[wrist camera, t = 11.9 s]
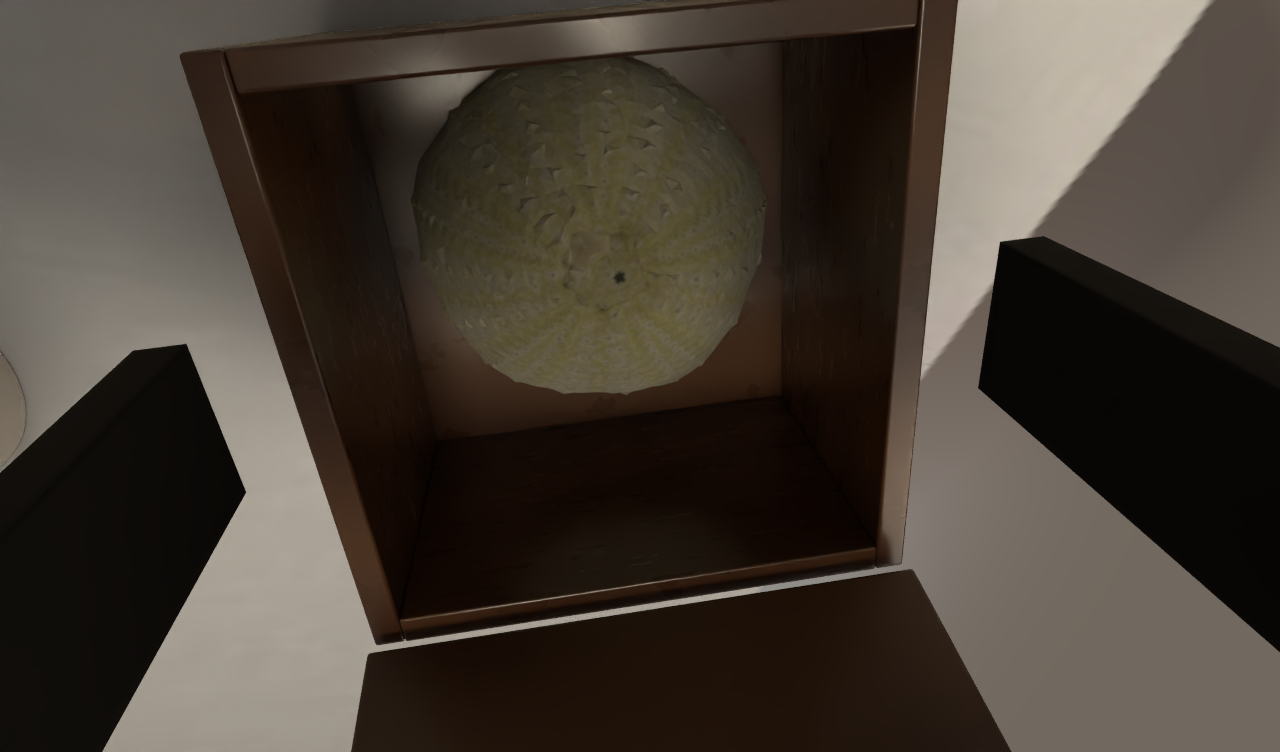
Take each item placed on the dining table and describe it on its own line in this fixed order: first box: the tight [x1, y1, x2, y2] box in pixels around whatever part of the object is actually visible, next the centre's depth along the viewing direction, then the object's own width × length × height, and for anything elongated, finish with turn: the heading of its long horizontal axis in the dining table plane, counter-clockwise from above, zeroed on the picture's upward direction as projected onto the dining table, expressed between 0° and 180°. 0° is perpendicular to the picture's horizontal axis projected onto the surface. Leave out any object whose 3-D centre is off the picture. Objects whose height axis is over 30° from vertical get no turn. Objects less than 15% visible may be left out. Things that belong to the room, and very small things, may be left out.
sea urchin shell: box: [410, 57, 767, 395], centre depth 20 cm, size 9×8×8 cm
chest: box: [180, 0, 958, 645], centre depth 19 cm, size 13×13×9 cm
